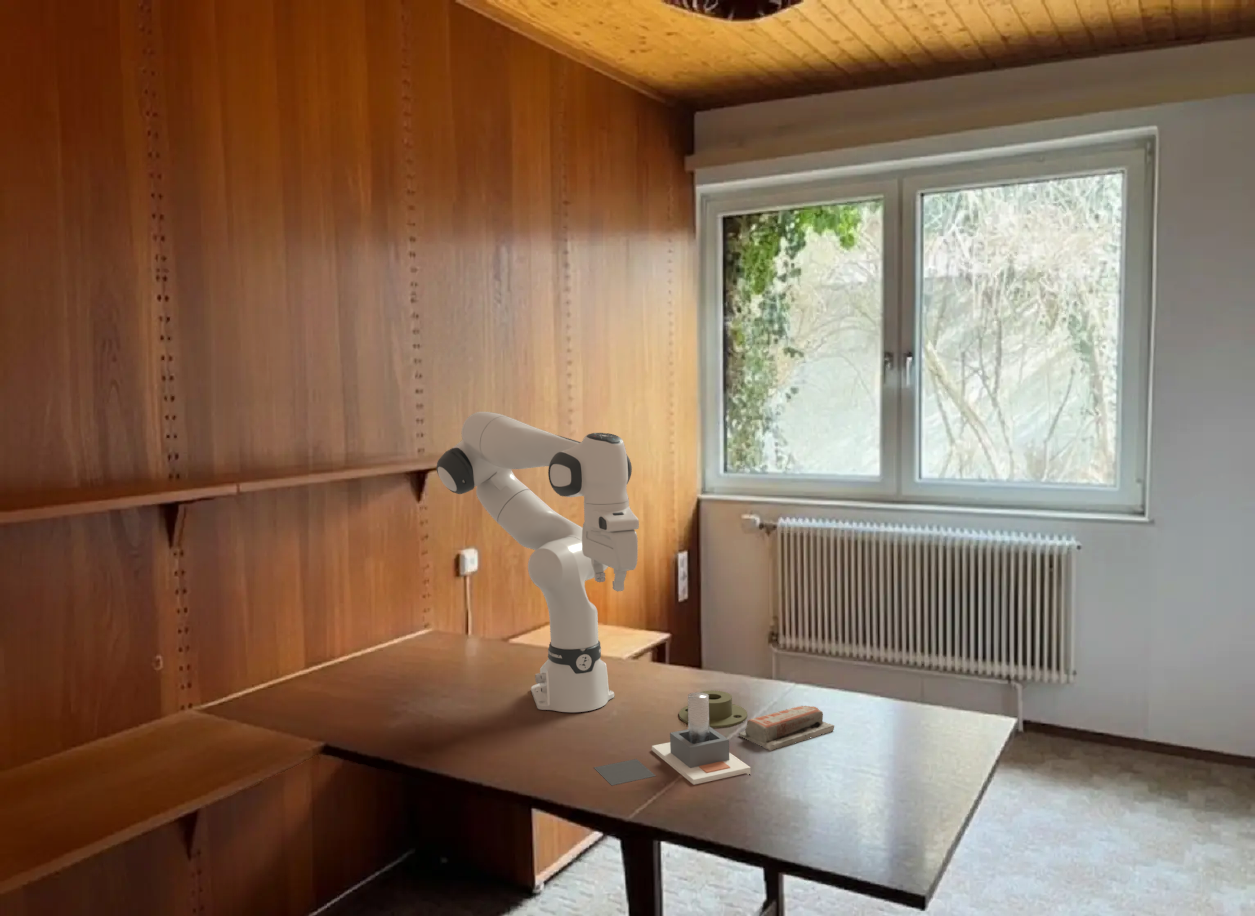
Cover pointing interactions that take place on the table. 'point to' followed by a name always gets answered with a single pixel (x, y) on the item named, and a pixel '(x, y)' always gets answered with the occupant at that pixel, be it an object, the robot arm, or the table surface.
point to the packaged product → (786, 727)
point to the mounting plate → (701, 757)
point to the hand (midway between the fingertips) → (609, 585)
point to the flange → (720, 710)
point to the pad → (624, 772)
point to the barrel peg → (698, 717)
